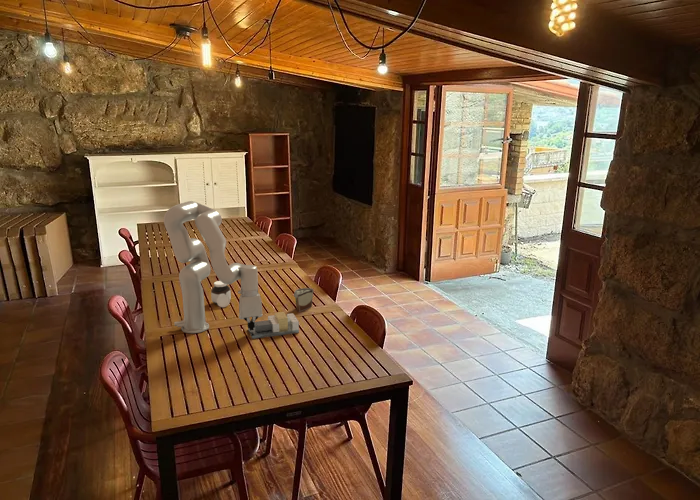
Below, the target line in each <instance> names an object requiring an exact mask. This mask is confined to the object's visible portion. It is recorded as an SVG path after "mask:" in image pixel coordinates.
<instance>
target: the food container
mask: <svg viewBox="0 0 700 500" xmlns="http://www.w3.org/2000/svg"><path fill="white" fill-rule="evenodd" d="M293 296H294V298H295V307H296V308H295V309H296V311H297V312H299V313H300V312H303V311H305V310H308V309H310V308H313V307H312V306H313V296H314V288H310V287H303V288H302V287H301V288H298V289H295V291H294V293H293Z"/></svg>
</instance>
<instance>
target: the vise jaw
mask: <svg viewBox="0 0 700 500" xmlns="http://www.w3.org/2000/svg"><path fill="white" fill-rule="evenodd" d="M255 330H256V332H261V331H268V330H272V332H273V333H274V332H279V323H278V321H277V319H276V318H275V314H274V315H268V316H267V320H261V321H255Z"/></svg>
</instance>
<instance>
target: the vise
mask: <svg viewBox="0 0 700 500" xmlns="http://www.w3.org/2000/svg"><path fill="white" fill-rule="evenodd" d="M286 316H287V317H288V330H283V331H279V332H274V333H273V332H272V330H268V331H261V332H256V330H255V328H253V329H254V330H251V331H250V329H249V328H248V327H247V330H248V333H249V335H250V338H251V339H252V340H255V339H262V338H269V337H278V336H284V335H291V334H299V333H300V328H299V327H300V323H299V321H300V320H299V319H297V317H296V315H295V314H294V313H291V312H290V313H286Z"/></svg>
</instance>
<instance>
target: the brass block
mask: <svg viewBox="0 0 700 500" xmlns="http://www.w3.org/2000/svg"><path fill="white" fill-rule="evenodd" d="M274 316H275V318H276V319H277V321H278V323H279V331H283V330H288V317H287V313H285V311H279V312H274Z"/></svg>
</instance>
